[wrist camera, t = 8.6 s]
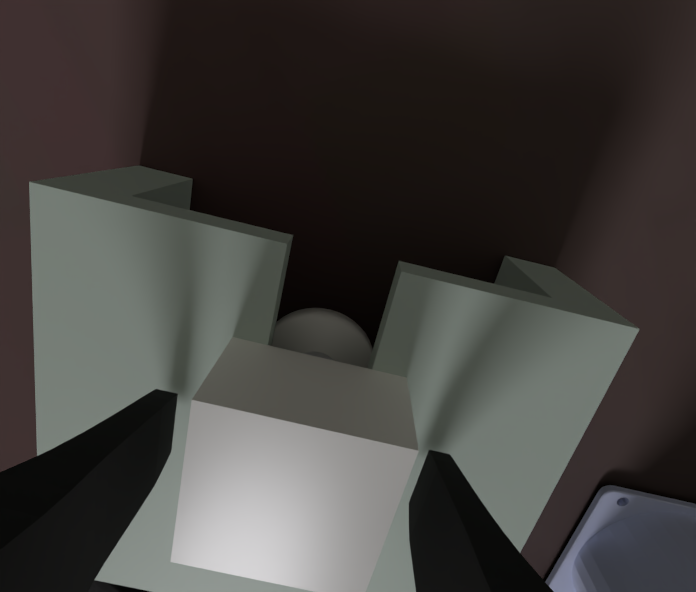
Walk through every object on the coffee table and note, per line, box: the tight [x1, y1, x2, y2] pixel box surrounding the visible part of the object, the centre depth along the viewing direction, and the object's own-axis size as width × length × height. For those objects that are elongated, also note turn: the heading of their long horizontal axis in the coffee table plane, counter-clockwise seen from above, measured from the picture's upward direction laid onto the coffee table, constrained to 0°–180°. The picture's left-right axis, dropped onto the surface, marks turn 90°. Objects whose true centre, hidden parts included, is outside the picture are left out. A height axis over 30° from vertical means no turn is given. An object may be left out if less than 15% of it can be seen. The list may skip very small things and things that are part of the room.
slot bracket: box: [29, 166, 639, 592], centre depth 16 cm, size 16×14×6 cm
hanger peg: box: [170, 308, 419, 592], centre depth 14 cm, size 5×5×7 cm
